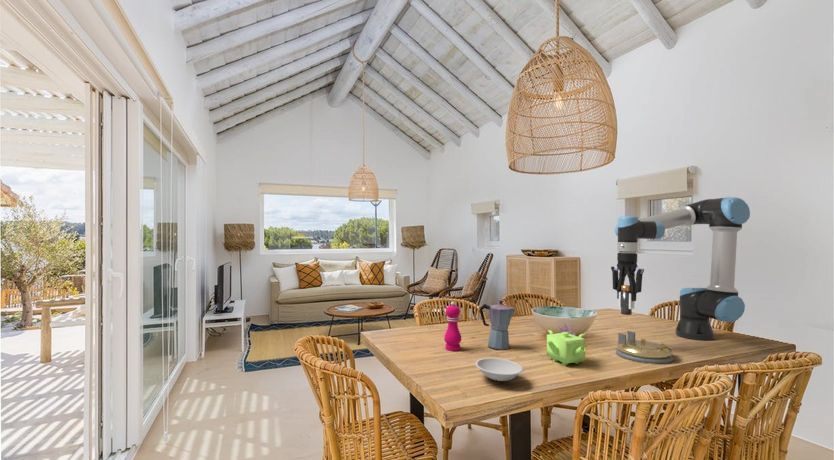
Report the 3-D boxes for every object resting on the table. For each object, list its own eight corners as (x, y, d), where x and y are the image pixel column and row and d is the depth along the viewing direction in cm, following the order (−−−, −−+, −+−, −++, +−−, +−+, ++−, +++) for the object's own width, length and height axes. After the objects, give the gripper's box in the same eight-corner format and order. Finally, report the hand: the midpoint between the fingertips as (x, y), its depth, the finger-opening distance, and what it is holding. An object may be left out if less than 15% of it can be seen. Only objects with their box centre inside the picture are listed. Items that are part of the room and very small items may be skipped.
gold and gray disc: (633, 342, 177) (633, 328, 177) (681, 353, 161) (681, 338, 161) (607, 349, 166) (607, 334, 166) (655, 362, 150) (655, 345, 150)
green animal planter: (547, 354, 166) (547, 326, 166) (585, 358, 161) (585, 329, 161) (544, 365, 152) (544, 335, 152) (585, 370, 147) (585, 339, 147)
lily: (554, 351, 172) (566, 334, 169) (543, 334, 183) (554, 317, 180) (578, 358, 175) (589, 341, 172) (565, 341, 186) (576, 324, 183)
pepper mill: (442, 350, 170) (442, 302, 170) (446, 345, 177) (446, 299, 177) (459, 352, 168) (459, 303, 168) (463, 347, 175) (463, 300, 175)
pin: (624, 312, 176) (624, 284, 176) (634, 314, 172) (634, 285, 172) (618, 313, 174) (618, 285, 174) (628, 315, 170) (628, 286, 170)
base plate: (633, 346, 177) (633, 342, 177) (683, 358, 160) (683, 354, 160) (605, 353, 167) (605, 349, 167) (656, 367, 150) (656, 363, 150)
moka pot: (516, 351, 169) (516, 303, 169) (478, 349, 172) (478, 301, 172) (515, 345, 179) (515, 299, 179) (480, 343, 182) (480, 298, 182)
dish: (466, 375, 142) (466, 360, 142) (500, 369, 148) (500, 355, 148) (495, 393, 126) (495, 377, 126) (533, 386, 131) (533, 370, 131)
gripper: (603, 251, 178) (602, 305, 178) (641, 253, 164) (640, 312, 164) (614, 251, 182) (613, 304, 182) (652, 253, 168) (651, 310, 168)
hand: (626, 307), depth 173 cm, fingers closed on pin, 4 cm apart
